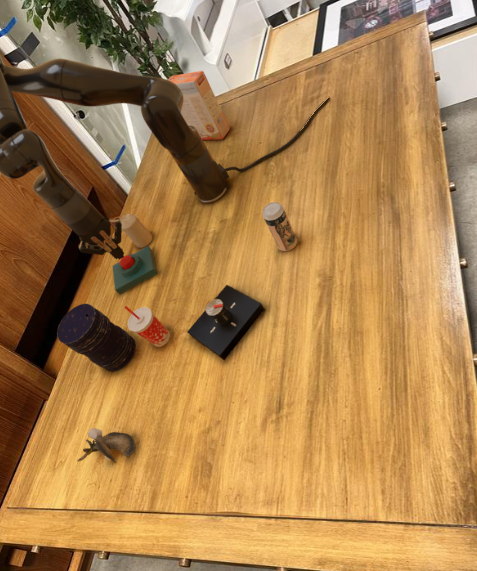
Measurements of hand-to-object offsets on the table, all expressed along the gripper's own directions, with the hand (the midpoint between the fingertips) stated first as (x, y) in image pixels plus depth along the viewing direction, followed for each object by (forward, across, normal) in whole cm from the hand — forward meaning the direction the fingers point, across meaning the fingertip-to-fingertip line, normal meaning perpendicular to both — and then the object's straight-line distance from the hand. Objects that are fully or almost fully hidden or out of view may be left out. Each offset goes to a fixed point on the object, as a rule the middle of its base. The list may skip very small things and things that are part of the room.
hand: (121, 256), depth 104 cm
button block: (+7, 0, 0) cm, 7 cm away
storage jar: (+7, +12, +22) cm, 26 cm away
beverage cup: (+7, +1, +26) cm, 27 cm away
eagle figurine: (+7, +19, +44) cm, 49 cm away
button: (+3, 0, 0) cm, 3 cm away
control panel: (+7, -14, +34) cm, 38 cm away
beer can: (+7, -36, +25) cm, 45 cm away
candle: (+7, -6, -10) cm, 14 cm away
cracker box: (+7, -44, -39) cm, 59 cm away
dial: (+4, -14, +34) cm, 37 cm away
